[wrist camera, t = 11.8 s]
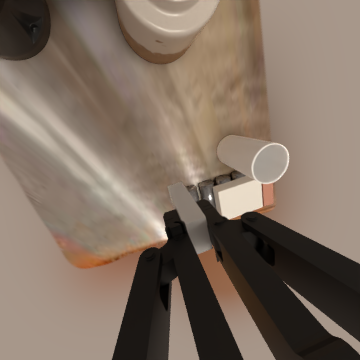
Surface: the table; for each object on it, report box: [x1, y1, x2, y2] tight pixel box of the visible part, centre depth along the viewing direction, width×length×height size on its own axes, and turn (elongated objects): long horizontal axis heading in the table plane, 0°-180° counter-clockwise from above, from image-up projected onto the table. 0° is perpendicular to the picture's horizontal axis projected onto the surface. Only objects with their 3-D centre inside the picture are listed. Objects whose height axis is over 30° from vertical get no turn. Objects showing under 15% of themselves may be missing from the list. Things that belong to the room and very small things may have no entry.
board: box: [213, 176, 263, 219], centre depth 47 cm, size 12×9×4 cm
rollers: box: [186, 170, 246, 210], centre depth 50 cm, size 19×10×4 cm, turn 104°
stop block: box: [261, 183, 273, 206], centre depth 50 cm, size 3×10×7 cm, turn 14°
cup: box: [217, 135, 289, 184], centre depth 41 cm, size 8×8×16 cm
